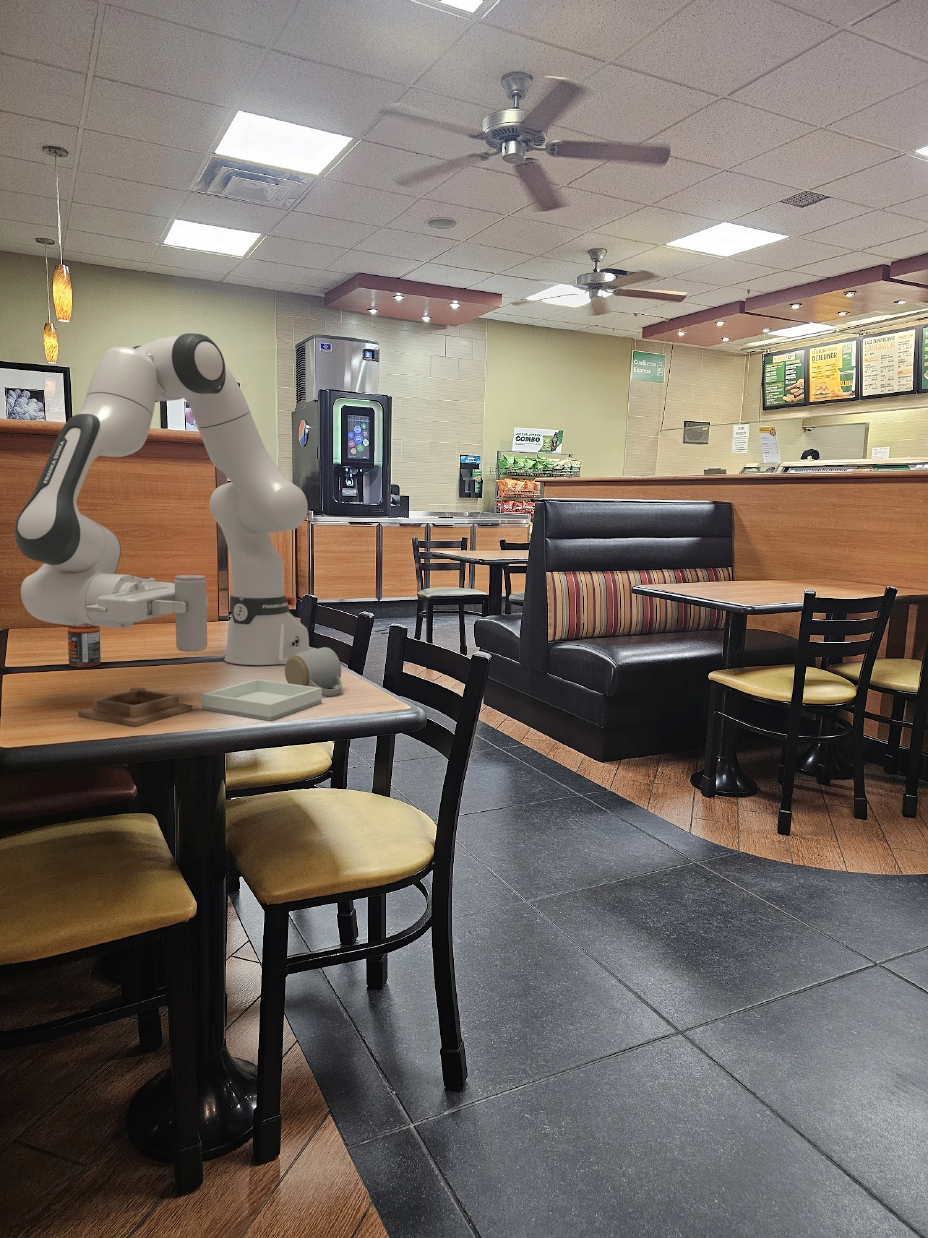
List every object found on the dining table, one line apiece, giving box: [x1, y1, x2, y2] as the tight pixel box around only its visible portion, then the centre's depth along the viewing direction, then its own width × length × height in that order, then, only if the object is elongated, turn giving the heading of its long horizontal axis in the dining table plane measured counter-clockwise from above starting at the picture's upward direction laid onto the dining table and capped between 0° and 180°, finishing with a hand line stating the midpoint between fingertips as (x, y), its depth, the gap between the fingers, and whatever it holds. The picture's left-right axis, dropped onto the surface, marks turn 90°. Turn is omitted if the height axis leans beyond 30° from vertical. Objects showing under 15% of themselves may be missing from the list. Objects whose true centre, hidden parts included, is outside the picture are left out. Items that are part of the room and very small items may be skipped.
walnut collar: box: [77, 687, 194, 728], centre depth 126 cm, size 12×12×2 cm
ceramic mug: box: [284, 646, 343, 697], centre depth 145 cm, size 11×8×8 cm
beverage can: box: [174, 574, 208, 653], centre depth 128 cm, size 5×5×12 cm
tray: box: [201, 678, 323, 722], centre depth 133 cm, size 14×14×3 cm
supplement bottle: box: [67, 624, 102, 669], centre depth 161 cm, size 6×6×11 cm
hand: (196, 604), depth 127 cm, fingers closed on beverage can, 5 cm apart
